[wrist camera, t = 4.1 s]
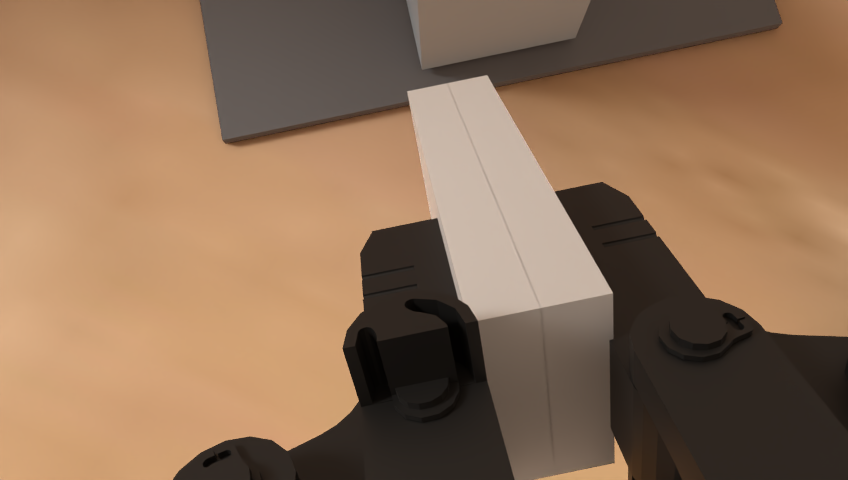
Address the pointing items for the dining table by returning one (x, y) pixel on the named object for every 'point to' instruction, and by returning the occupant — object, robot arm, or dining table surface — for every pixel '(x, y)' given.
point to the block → (489, 27)
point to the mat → (416, 53)
